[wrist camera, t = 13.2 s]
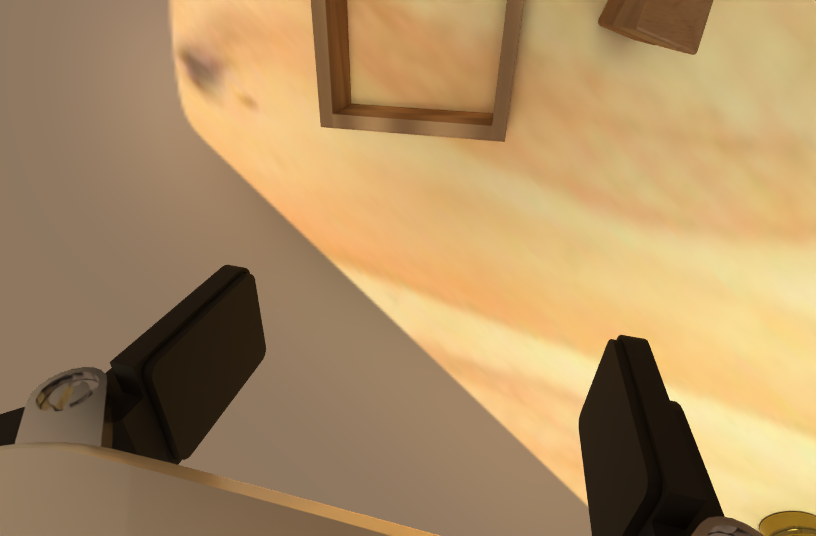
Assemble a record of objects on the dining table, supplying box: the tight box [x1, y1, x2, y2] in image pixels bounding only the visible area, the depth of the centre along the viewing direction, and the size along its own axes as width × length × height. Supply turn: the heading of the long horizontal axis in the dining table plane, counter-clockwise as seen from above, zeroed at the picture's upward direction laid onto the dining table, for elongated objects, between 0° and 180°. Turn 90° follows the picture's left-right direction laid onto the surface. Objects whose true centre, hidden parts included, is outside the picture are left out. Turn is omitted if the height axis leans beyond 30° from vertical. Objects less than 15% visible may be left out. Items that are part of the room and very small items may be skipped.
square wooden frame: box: [311, 0, 524, 142], centre depth 35 cm, size 16×16×5 cm
